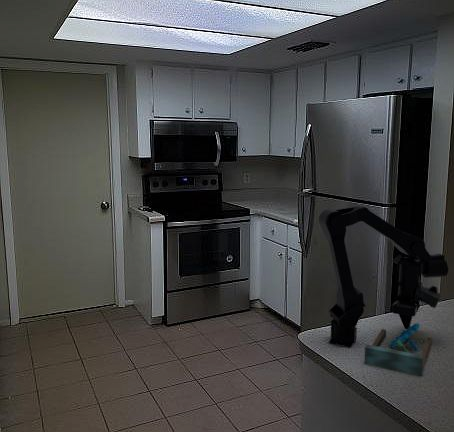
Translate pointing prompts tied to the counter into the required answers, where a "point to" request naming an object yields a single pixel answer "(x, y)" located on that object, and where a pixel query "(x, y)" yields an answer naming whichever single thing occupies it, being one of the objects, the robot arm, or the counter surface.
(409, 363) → the guide channel
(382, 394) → the counter surface
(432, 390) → the counter surface
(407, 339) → the blue irregular piece
